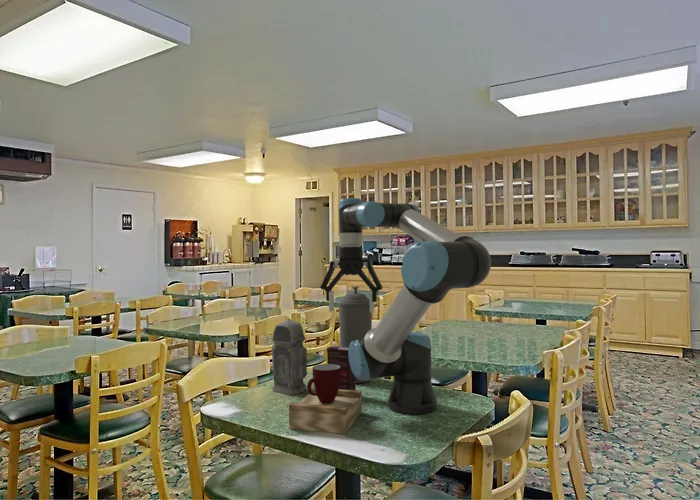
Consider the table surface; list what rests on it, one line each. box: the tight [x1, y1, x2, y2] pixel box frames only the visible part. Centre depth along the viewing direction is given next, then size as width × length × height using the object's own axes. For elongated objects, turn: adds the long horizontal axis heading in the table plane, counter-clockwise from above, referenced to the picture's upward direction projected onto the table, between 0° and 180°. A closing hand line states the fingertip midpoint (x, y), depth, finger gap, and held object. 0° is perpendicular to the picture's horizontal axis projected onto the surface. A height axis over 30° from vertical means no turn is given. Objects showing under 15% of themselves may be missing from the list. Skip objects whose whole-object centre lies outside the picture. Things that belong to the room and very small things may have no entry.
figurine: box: [271, 318, 308, 396], centre depth 176 cm, size 10×14×25 cm
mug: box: [306, 363, 340, 403], centre depth 145 cm, size 11×8×10 cm
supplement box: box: [326, 345, 357, 390], centre depth 170 cm, size 9×5×16 cm, turn 60°
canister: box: [338, 286, 373, 384], centre depth 188 cm, size 13×13×35 cm
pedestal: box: [288, 386, 363, 435], centre depth 145 cm, size 16×18×6 cm
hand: (351, 311), depth 163 cm, fingers open, 13 cm apart
